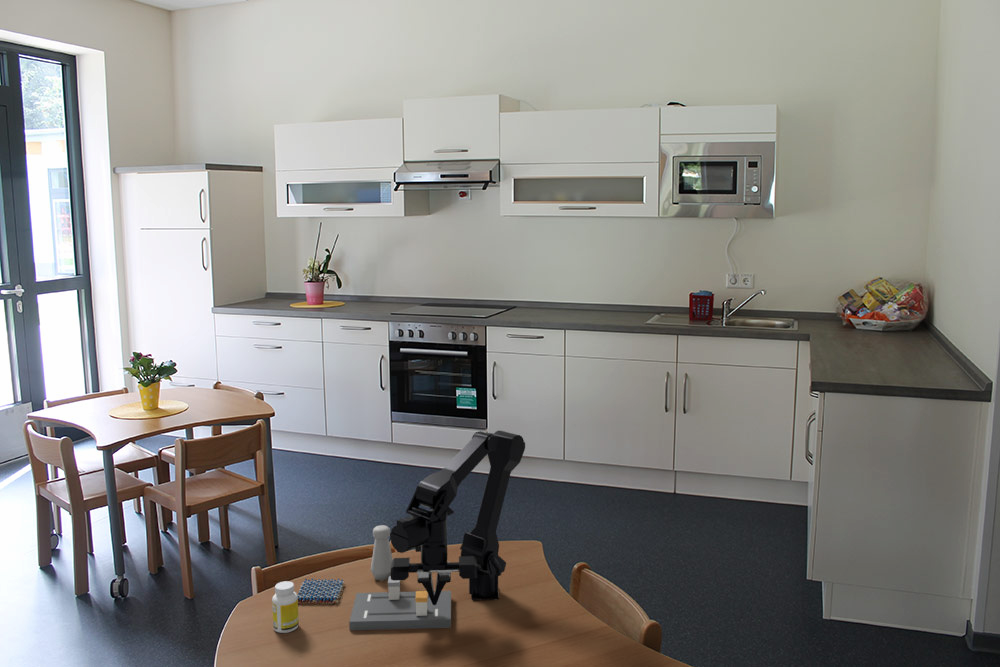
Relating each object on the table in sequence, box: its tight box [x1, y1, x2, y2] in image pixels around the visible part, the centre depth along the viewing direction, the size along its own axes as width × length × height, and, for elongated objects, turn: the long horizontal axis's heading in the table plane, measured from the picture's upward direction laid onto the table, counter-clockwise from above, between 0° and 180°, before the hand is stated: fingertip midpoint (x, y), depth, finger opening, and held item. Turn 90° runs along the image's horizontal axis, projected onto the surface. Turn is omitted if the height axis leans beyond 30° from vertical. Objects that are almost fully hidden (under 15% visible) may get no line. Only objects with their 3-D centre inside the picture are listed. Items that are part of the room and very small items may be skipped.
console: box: [348, 590, 452, 631], centre depth 182 cm, size 22×13×2 cm, turn 93°
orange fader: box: [415, 590, 428, 616], centre depth 178 cm, size 3×3×4 cm
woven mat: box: [297, 578, 345, 605], centre depth 191 cm, size 10×11×2 cm
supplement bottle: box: [271, 580, 300, 634], centre depth 175 cm, size 5×5×10 cm
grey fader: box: [387, 576, 401, 600], centre depth 185 cm, size 3×3×4 cm
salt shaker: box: [370, 524, 394, 582], centre depth 199 cm, size 6×6×13 cm
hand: (434, 604), depth 178 cm, fingers closed
